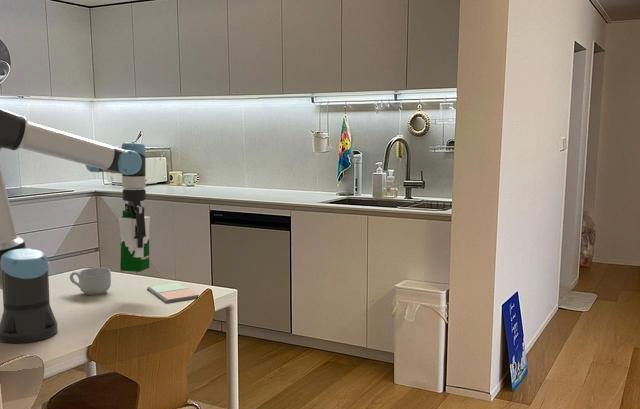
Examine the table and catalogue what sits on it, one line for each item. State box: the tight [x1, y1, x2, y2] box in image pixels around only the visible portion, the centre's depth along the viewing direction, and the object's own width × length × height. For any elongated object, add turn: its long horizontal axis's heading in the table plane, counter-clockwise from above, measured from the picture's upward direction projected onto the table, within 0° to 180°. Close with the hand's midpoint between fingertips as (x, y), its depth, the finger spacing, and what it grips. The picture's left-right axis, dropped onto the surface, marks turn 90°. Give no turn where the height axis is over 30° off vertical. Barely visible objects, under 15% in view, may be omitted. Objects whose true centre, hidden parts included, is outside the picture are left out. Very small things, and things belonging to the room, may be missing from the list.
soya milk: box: [117, 209, 151, 273], centre depth 204 cm, size 9×9×20 cm
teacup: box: [69, 267, 112, 296], centre depth 212 cm, size 14×11×8 cm
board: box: [146, 282, 200, 304], centre depth 212 cm, size 12×20×1 cm, turn 34°
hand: (134, 254), depth 205 cm, fingers closed on soya milk, 9 cm apart
